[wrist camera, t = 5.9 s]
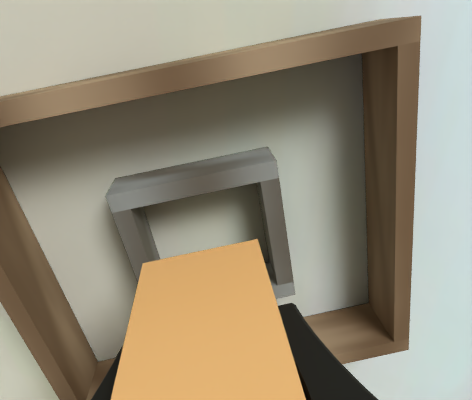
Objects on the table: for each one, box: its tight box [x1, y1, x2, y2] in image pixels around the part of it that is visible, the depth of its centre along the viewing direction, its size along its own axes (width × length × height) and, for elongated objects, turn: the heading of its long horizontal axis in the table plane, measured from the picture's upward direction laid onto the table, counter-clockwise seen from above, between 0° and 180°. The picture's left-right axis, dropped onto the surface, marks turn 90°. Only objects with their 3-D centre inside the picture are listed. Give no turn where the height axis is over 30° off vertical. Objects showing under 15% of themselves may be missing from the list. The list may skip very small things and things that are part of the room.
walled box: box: [0, 16, 421, 400], centre depth 17 cm, size 18×16×3 cm
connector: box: [111, 239, 306, 400], centre depth 10 cm, size 4×4×6 cm
